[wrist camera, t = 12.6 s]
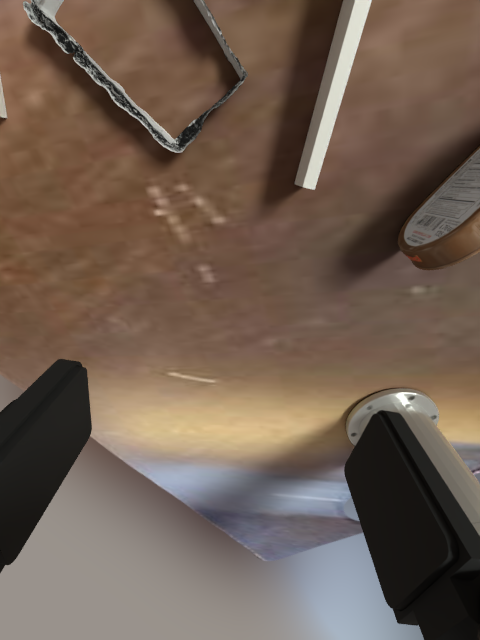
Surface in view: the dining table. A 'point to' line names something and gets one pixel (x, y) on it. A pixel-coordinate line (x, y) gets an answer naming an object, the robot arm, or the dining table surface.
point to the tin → (446, 221)
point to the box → (321, 90)
